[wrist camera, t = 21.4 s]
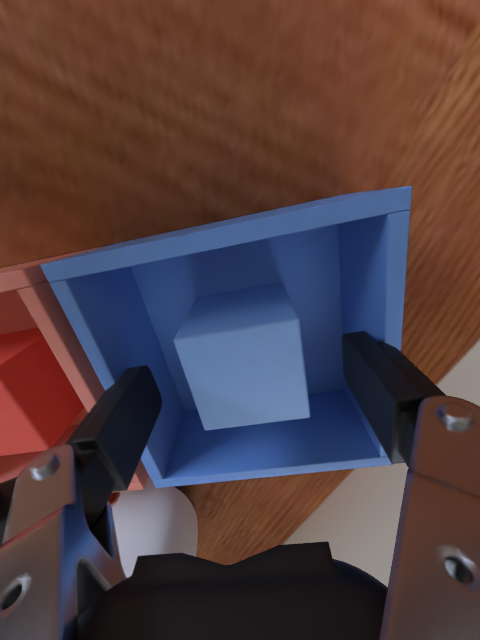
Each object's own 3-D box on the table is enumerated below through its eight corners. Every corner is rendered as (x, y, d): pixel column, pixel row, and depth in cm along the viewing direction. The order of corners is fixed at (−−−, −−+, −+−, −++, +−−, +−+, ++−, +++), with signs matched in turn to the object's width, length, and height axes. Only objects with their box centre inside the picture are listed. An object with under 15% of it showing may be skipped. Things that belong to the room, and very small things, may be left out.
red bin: (-83, 286, 14) (-249, 326, 9) (105, 245, 13) (21, 268, 8) (25, 432, 18) (-50, 509, 14) (172, 412, 17) (144, 489, 12)
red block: (-4, 334, 14) (-105, 386, 10) (68, 321, 14) (-8, 370, 10) (37, 396, 16) (-35, 461, 12) (102, 386, 16) (50, 450, 12)
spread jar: (197, 458, 19) (132, 781, 8) (213, 541, 24) (184, 817, 13) (44, 460, 20) (-199, 764, 9) (88, 541, 24) (-37, 804, 14)
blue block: (195, 298, 13) (171, 340, 9) (283, 282, 13) (299, 318, 8) (216, 369, 15) (204, 431, 11) (293, 357, 14) (311, 418, 10)
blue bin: (116, 243, 13) (38, 264, 8) (345, 193, 11) (412, 185, 7) (180, 411, 17) (155, 488, 12) (351, 389, 16) (393, 465, 11)
